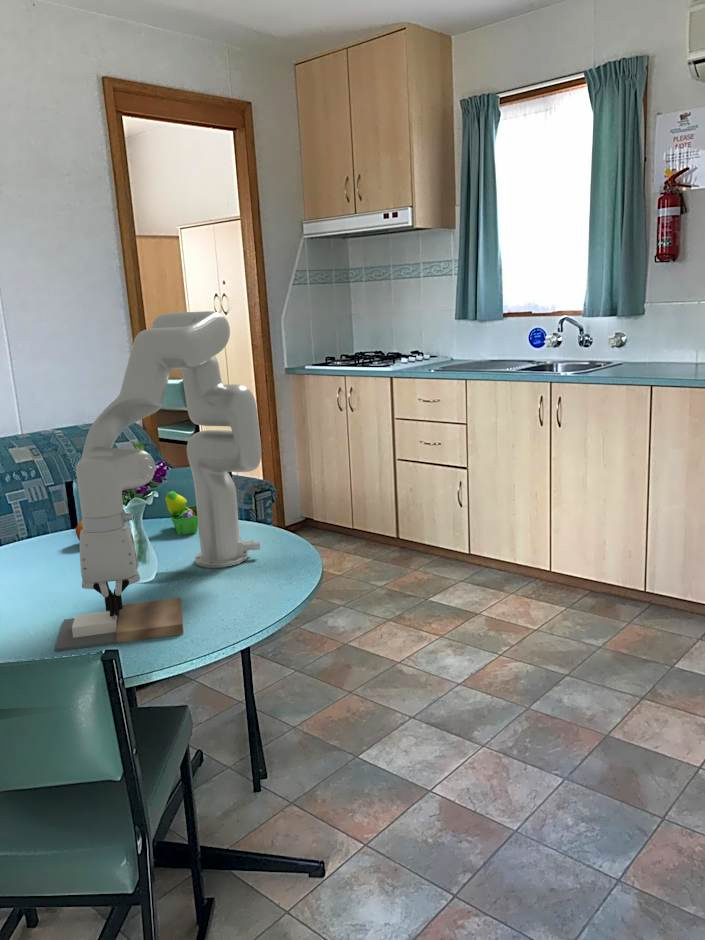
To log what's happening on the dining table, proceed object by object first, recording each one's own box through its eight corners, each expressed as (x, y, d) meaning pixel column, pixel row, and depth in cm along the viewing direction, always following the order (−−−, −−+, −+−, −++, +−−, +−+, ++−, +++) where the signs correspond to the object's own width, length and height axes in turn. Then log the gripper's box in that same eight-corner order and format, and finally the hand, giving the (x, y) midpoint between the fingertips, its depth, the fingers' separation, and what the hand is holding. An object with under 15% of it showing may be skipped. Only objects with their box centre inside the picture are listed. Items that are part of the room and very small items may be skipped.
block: (119, 619, 154) (117, 610, 153) (117, 631, 148) (116, 621, 147) (76, 625, 152) (75, 615, 151) (73, 637, 146) (71, 627, 146)
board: (181, 606, 160) (180, 597, 160) (183, 633, 147) (182, 623, 146) (121, 614, 157) (120, 605, 157) (117, 642, 144) (116, 632, 144)
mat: (121, 614, 157) (121, 612, 157) (117, 642, 144) (117, 640, 144) (64, 621, 155) (64, 619, 155) (54, 651, 142) (54, 648, 142)
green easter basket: (201, 534, 210) (198, 493, 208) (168, 537, 208) (164, 496, 206) (200, 522, 221) (197, 484, 219) (169, 526, 219) (165, 487, 217)
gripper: (145, 512, 151) (155, 601, 155) (64, 521, 148) (76, 611, 152) (144, 523, 144) (154, 615, 148) (59, 532, 141) (72, 626, 145)
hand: (115, 613), depth 150 cm, fingers closed
